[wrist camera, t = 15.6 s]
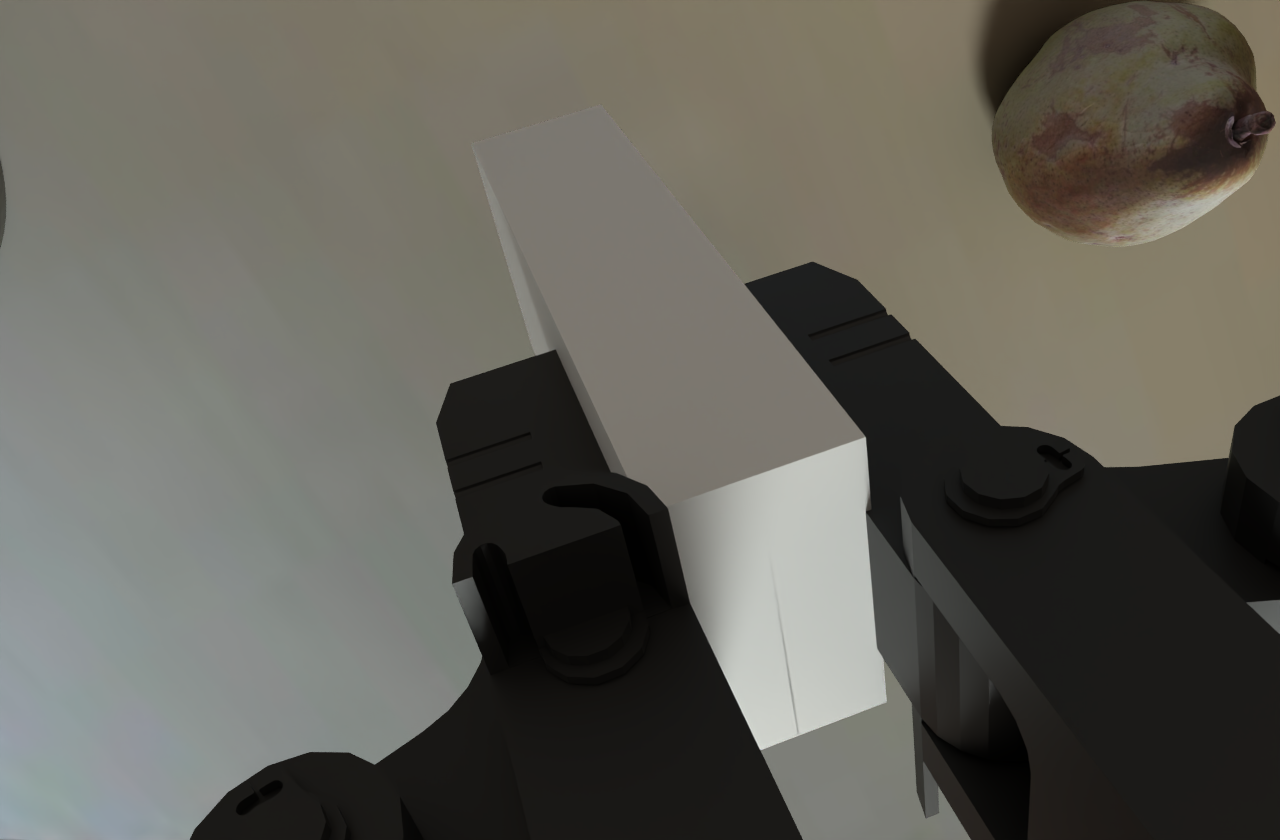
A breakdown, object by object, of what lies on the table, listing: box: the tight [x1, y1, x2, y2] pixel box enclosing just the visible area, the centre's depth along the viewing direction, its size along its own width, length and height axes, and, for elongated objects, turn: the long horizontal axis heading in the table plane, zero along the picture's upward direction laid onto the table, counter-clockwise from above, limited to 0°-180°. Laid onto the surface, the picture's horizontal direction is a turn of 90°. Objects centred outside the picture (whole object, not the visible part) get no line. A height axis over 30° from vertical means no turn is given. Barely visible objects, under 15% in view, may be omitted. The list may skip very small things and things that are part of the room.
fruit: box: [992, 0, 1276, 247], centre depth 44 cm, size 10×9×12 cm
